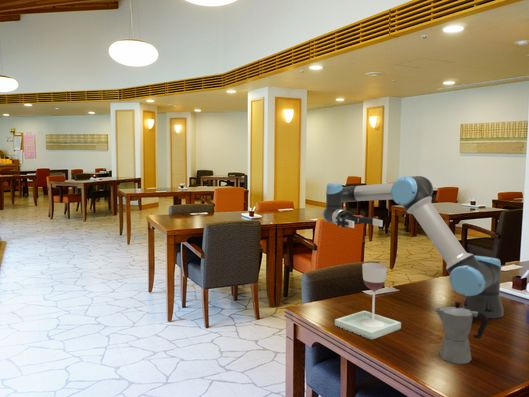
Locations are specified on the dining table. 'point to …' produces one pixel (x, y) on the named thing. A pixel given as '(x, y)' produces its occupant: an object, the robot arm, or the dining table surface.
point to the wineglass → (374, 286)
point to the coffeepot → (458, 332)
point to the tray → (356, 326)
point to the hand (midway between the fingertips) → (367, 224)
